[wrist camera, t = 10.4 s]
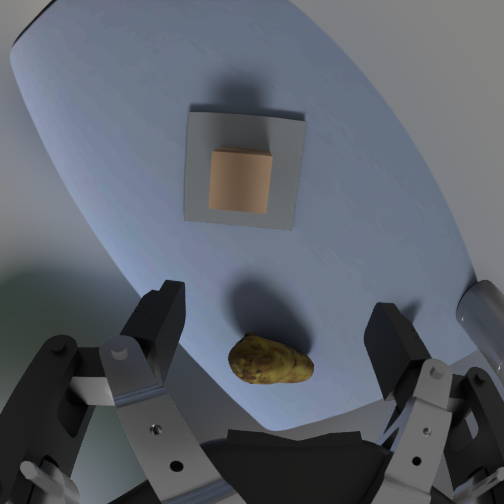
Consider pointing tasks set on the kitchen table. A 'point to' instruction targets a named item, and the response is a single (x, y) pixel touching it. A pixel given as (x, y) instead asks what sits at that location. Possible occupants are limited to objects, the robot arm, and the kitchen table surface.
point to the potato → (268, 361)
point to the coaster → (252, 137)
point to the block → (240, 179)
